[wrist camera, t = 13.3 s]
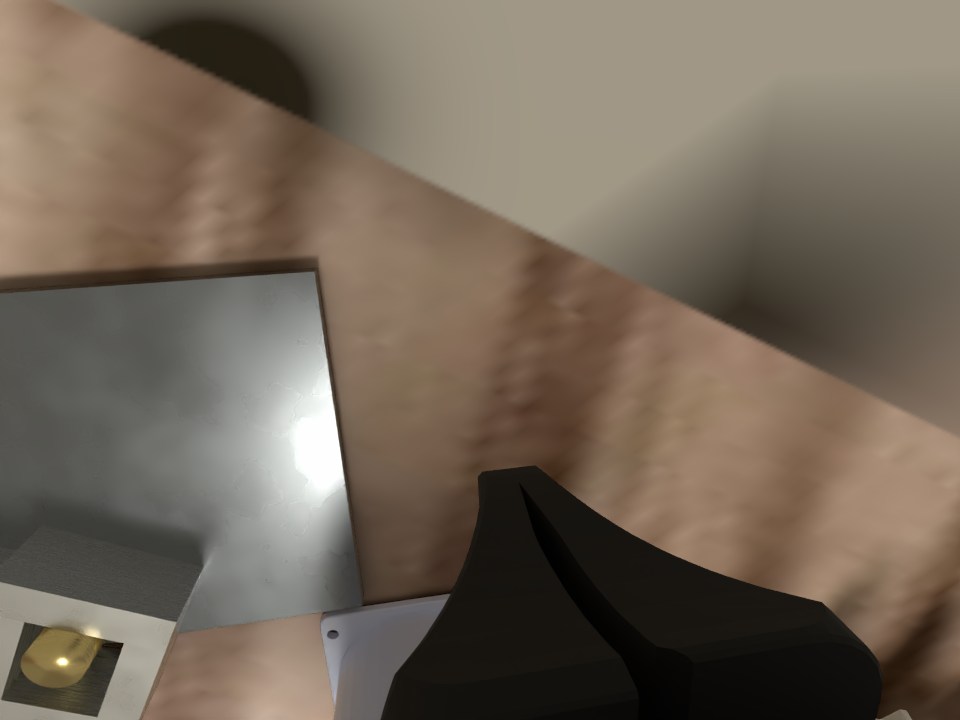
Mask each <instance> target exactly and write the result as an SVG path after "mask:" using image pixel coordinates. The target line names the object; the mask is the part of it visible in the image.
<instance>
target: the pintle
mask: <svg viewBox="0 0 960 720" xmlns="http://www.w3.org/2000/svg"><path fill="white" fill-rule="evenodd" d="M105 640H106V639H101V638H97V637H92V636H87V635H83V634H78V633H73V632H68V631H64V630H59V629H54V628H50V627H45V628H44V629H43V630H42V631H41V633H40V634H39V635H38V637H37V638H36V639H35V640H34V642H33V643H32V644H31V646H30V647H29V648H28V649H27V651H26V652H25V653H24V655H23V657H22V659H21V668H22V671H23V673H24V674H25V676H26V677H27V678H28V679H30V680H31V681H32V682H34V683H36V684H38V685H41V686H44V687H50V688H61V687H66V686H70V685H72V684H74V683H76V682H77V681H79V680H80V679H81V678H82V677H83V675H84V674H85V672H86V670H87V669H88V667H89V666H90V664H91V663H92V661H93V659H94V658H95V656H96V655H97V653H98V651H99V650H100V648H101V647H102V645H103V643H104V642H105Z"/></svg>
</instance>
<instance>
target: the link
mask: <svg viewBox="0 0 960 720" xmlns="http://www.w3.org/2000/svg"><path fill="white" fill-rule="evenodd" d="M202 570H203V566H199V565H195V564H191V563H187V562H183V561H179V560H175V559H171V558H168V557H164V556H160V555H156V554H152V553H148V552H144V551H140V550H136V549H133V548H129V547H125V546H121V545H117V544H113V543H109V542H105V541H101V540H98V539H94V538H90V537H86V536H82V535H78V534H74V533H70V532H66V531H63V530H59V529H55V528H51V527H47V526H43V525H42V526H41V527H40V528H39V529H38V530H37V531H36V532H35V533H34V534H33V535H32V536H31V537H30V538H29V539H28V540H27V541H26V542H24V543H23V544H22V545H21V546H20V547H19V548H18V549H17V550H12V549H8V548H4V547H0V720H142V718H143V716H144V714H145V711H146V709H147V707H148V705H149V703H150V701H151V699H152V696H153V694H154V692H155V690H156V688H157V686H158V684H159V681H160V678H161V676H162V673H163V671H164V668H165V665H166V663H167V660H168V658H169V655H170V653H171V650H172V647H173V645H174V642H175V640H176V637H177V634H178V632H179V629H180V627H181V624H182V622H183V619H184V616H185V614H186V611H187V609H188V606H189V604H190V601H191V598H192V596H193V593H194V591H195V588H196V585H197V583H198V580H199V578H200V575H201V573H202ZM45 627H50V628H54V629H59V630H64V631H68V632H73V633H78V634H83V635H87V636H92V637H97V638H101V639H106V640H111V641H115V642H120V643H124V645H123V648H122V650H121V649H117V648H112V647H107V646H102V647H101V648H100V650H99V651H98V653H97V655H96V656H95V658H94V659H93V661H92V663H91V664H90V666H89V667H88V669H87V670H86V672H85V674H84V675H83V677H82V678H81V679H80V680H79V681H77V682H76V683H74V684H72V685H70V686H66V687H61V688H50V687H44V686H41V685H38V684H36V683H34V682H32V681H31V680H30V679H28V678H27V677H26V676H25V674H24V673H23V671H22V668H21V659H22V657H23V655H24V653H25V652H26V651H27V649H28V648H29V647H30V646H31V644H32V643H33V642H34V640H35V639H36V638H37V637H38V635H39V634H40V633H41V631H42V630H43V629H44V628H45Z"/></svg>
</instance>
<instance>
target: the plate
mask: <svg viewBox="0 0 960 720" xmlns="http://www.w3.org/2000/svg"><path fill="white" fill-rule="evenodd" d="M42 525H43V526H47V527H51V528H55V529H59V530H63V531H66V532H70V533H74V534H78V535H82V536H86V537H90V538H94V539H98V540H101V541H105V542H109V543H113V544H117V545H121V546H125V547H129V548H133V549H136V550H140V551H144V552H148V553H152V554H156V555H160V556H164V557H168V558H171V559H175V560H179V561H183V562H187V563H191V564H195V565H199V566H203V570H202V573H201V575H200V578H199V580H198V583H197V585H196V588H195V591H194V593H193V596H192V598H191V601H190V604H189V606H188V609H187V611H186V614H185V616H184V619H183V622H182V624H181V627H180V629H179V632H178V633H183V632H190V631H197V630H204V629H210V628H217V627H224V626H231V625H238V624H245V623H251V622H258V621H265V620H272V619H279V618H286V617H292V616H299V615H306V614H313V613H320V612H327V611H333V610H340V609H347V608H354V607H361V606H363V594H364V593H363V586H362V579H361V572H360V565H359V558H358V551H357V544H356V537H355V530H354V523H353V516H352V509H351V502H350V495H349V488H348V481H347V474H346V467H345V460H344V453H343V446H342V439H341V432H340V425H339V418H338V411H337V404H336V397H335V390H334V383H333V376H332V369H331V362H330V355H329V348H328V341H327V334H326V327H325V320H324V313H323V306H322V299H321V292H320V285H319V278H318V271H317V268H312V269H298V270H283V271H269V272H255V273H240V274H226V275H211V276H197V277H183V278H168V279H154V280H140V281H125V282H111V283H97V284H82V285H68V286H53V287H39V288H25V289H10V290H0V547H4V548H8V549H12V550H17V549H18V548H19V547H20V546H21V545H22V544H23V543H24V542H26V541H27V540H28V539H29V538H30V537H31V536H32V535H33V534H34V533H35V532H36V531H37V530H38V529H39V528H40V527H41V526H42ZM108 643H115V641H111V640H105V642H104V643H103V644H108Z"/></svg>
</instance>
